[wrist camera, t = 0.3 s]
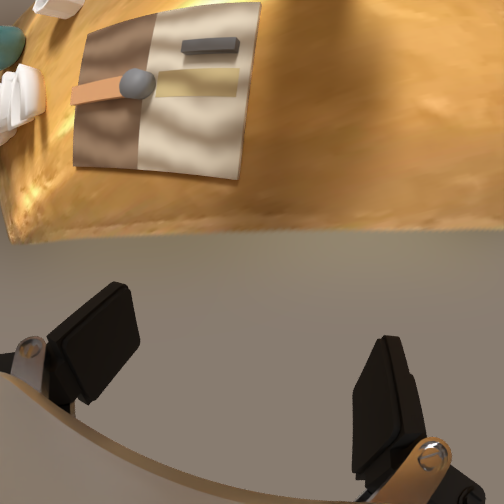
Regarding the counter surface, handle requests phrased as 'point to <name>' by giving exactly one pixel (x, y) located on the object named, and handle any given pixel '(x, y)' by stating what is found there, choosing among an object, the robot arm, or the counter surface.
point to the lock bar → (115, 88)
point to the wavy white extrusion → (20, 99)
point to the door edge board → (172, 91)
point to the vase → (10, 45)
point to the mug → (58, 7)
